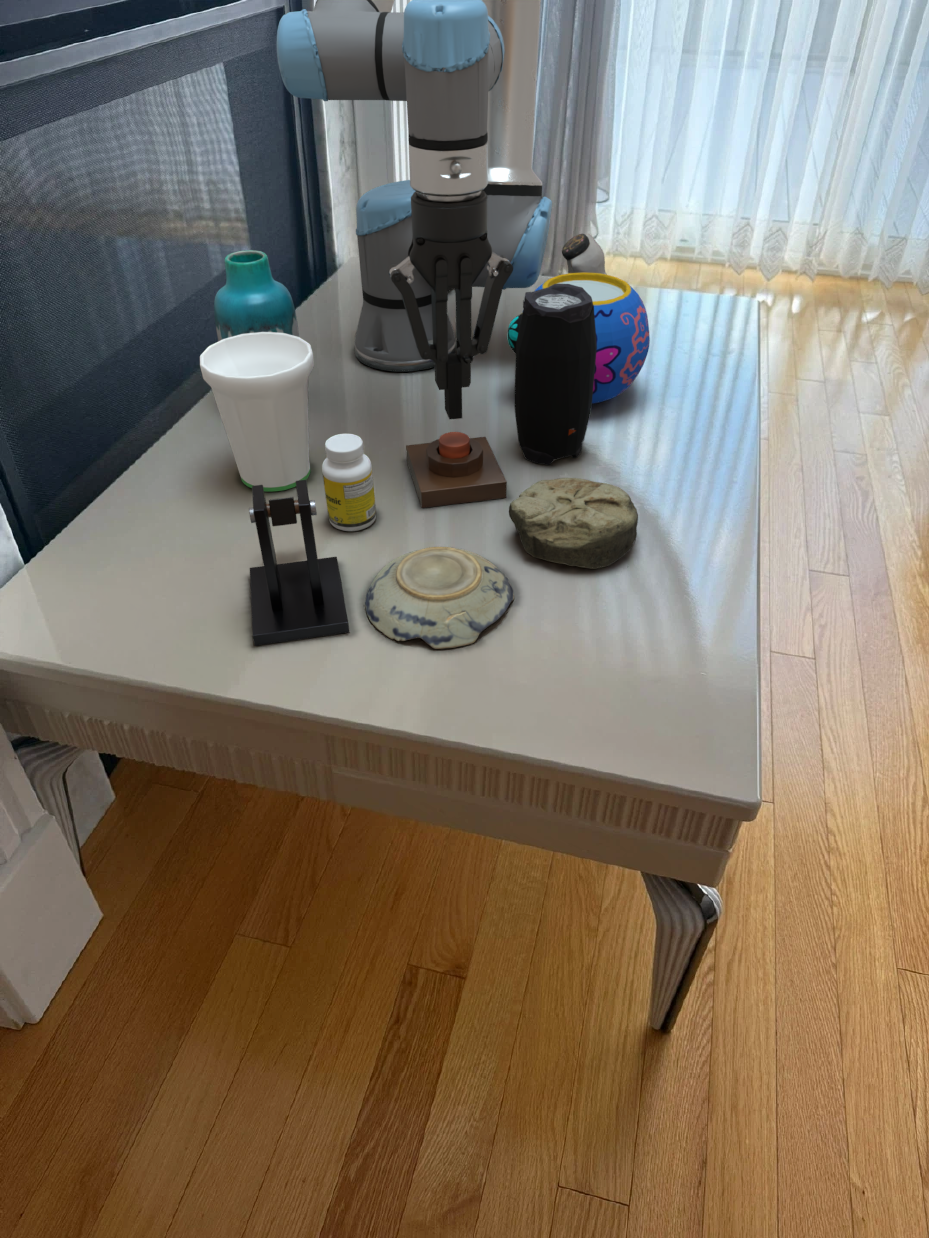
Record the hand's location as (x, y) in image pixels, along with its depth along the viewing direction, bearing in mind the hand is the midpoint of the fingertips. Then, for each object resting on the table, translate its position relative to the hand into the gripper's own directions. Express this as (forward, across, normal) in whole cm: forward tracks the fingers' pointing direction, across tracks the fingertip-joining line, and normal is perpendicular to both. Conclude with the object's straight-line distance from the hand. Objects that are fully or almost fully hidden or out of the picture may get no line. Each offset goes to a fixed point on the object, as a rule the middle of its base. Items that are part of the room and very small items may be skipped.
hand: (453, 413), depth 102 cm
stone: (+9, +10, -15) cm, 20 cm away
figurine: (+9, +29, +37) cm, 48 cm away
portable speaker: (+9, +13, +4) cm, 16 cm away
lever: (+1, -20, -16) cm, 26 cm away
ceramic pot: (+9, +21, +18) cm, 29 cm away
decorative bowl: (+9, -6, -22) cm, 25 cm away
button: (+5, 0, 0) cm, 5 cm away
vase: (+9, -21, +27) cm, 35 cm away
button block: (+9, 0, 0) cm, 9 cm away
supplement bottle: (+9, -13, -6) cm, 17 cm away
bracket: (+9, -20, -20) cm, 29 cm away
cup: (+9, -21, +6) cm, 24 cm away
